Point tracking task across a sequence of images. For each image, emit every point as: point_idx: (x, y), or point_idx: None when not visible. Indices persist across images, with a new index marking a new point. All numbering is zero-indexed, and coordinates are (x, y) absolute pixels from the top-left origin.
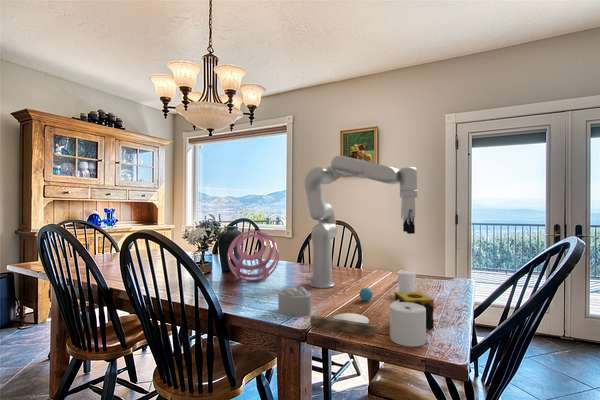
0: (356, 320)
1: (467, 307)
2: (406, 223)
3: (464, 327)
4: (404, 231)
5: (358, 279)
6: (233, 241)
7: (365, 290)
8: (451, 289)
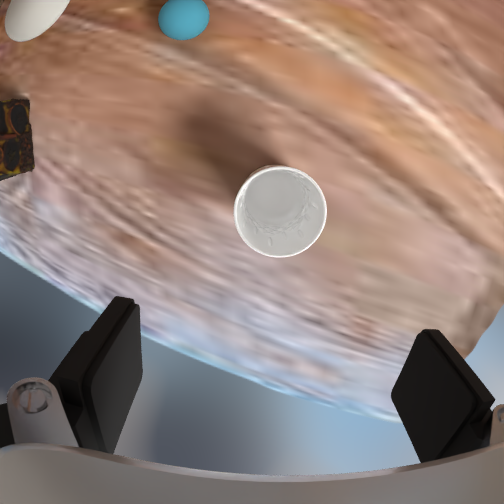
0: (28, 14)
1: None
2: (451, 434)
3: (6, 252)
4: (419, 336)
5: (479, 84)
6: None
7: (163, 8)
8: (323, 362)
